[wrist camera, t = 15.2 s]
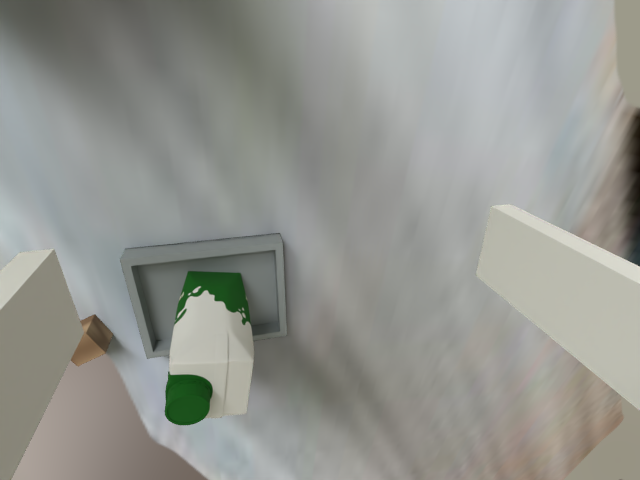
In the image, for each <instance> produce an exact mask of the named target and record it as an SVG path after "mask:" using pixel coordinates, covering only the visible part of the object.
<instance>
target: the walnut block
mask: <svg viewBox="0 0 640 480" xmlns="http://www.w3.org/2000/svg"><path fill="white" fill-rule="evenodd" d="M80 322H81V325H82V328H83V330H84V334H83V336H82V338H81V340H80V342H79V344H78V346H77V348H76V350H75V352H74V354H73V356H72V358H71V361H72V362H73V363H74V364H76V365H77V366H80V365H82V364H84V363H86V362H88V361H90V360H92V359H95V358H97V357H99V356H101V355H103V354H105V353H106V351H107V349H108V346H109V344H110V341H111V338H112V336H113V333H112V332H111V331H110V330H109V329H108V328H107V327H106V326H105V325H104V324H103V323H102V321H101V320H100V319H99V318H98V317H97V316H96V315H92V316H90V317H88V318H86V319H84V320H82V321H80Z"/></svg>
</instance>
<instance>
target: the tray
mask: <svg viewBox="0 0 640 480" xmlns="http://www.w3.org/2000/svg"><path fill="white" fill-rule="evenodd" d="M120 262H121V266H122V270H123V273H124V277H125V281H126V284H127V288H128V292H129V295H130V299H131V302H132V306H133V310H134V313H135V317H136V321H137V324H138V328H139V332H140V335H141V339H142V342H143V346H144V350H145V353H146V357H147V359H149V358H155V357H161V356H167V355H170V347H171V341H172V335H173V329H174V323H175V317H176V311H177V306H178V302H179V298H180V295H181V292H182V289H183V286H184V282H185V279H186V276H187V273H188V271H202V272H232V273H241V277H242V281H243V285H244V289H245V293H246V297H247V301H248V306H249V313H250V321H251V329H252V337H253V341H257V340H263V339H269V338H275V337H282V336H287V324H286V303H285V282H284V260H283V242H282V239H281V236H280V234H279V233H276V234H266V235H256V236H246V237H237V238H227V239H217V240H207V241H197V242H187V243H177V244H168V245H158V246H148V247H138V248H128V249H125V250H124V252H123V254H122V256H121V258H120Z"/></svg>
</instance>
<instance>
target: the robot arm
mask: <svg viewBox="0 0 640 480" xmlns="http://www.w3.org/2000/svg"><path fill="white" fill-rule="evenodd" d="M476 276H477V277H478V278H479V279H481V280H482V281H483V282H484V283H485V284H487V285H488V286H489V287H490V288H491V289H493V290H494V291H495V292H496V293H498V294H499V295H500V296H501V297H502V298H504V299H505V300H506V301H507V302H508V303H510V304H511V305H512V306H513V307H514V308H516V309H517V310H518V311H519V312H521V313H522V314H523V315H524V316H525V317H527V318H528V319H529V320H530V321H531V322H533V323H534V324H535V325H536V326H538V327H539V328H540V329H541V330H542V331H544V332H545V333H546V334H547V335H548V336H550V337H551V338H552V339H553V340H555V341H556V342H557V343H558V344H559V345H561V346H562V347H563V348H564V349H565V350H567V351H568V352H569V353H570V354H571V355H573V356H574V357H575V358H576V359H578V360H579V361H580V362H581V363H582V364H584V365H585V366H586V367H587V368H588V369H590V370H591V371H592V372H593V373H595V374H596V375H597V376H598V377H599V378H601V379H602V380H603V381H604V382H605V383H607V384H608V385H609V386H610V387H611V388H613V389H614V390H615V391H616V392H618V393H619V394H620V395H621V396H622V397H624V398H625V399H626V400H627V401H628V402H630V403H631V404H632V405H633V406H635V407H636V408H637V409H638V410H639V411H640V267H639V266H637V265H635V264H633V263H631V262H629V261H627V260H625V259H623V258H621V257H618V256H616V255H614V254H612V253H610V252H608V251H606V250H604V249H602V248H600V247H598V246H596V245H594V244H592V243H590V242H587V241H585V240H583V239H581V238H579V237H577V236H575V235H573V234H571V233H569V232H567V231H565V230H563V229H561V228H558V227H556V226H554V225H552V224H550V223H548V222H546V221H544V220H542V219H540V218H538V217H536V216H534V215H532V214H530V213H527V212H525V211H523V210H521V209H519V208H517V207H515V206H513V205H511V204H508V205H498V206H491V210H490V214H489V218H488V223H487V227H486V232H485V236H484V241H483V245H482V250H481V254H480V258H479V263H478V267H477V272H476ZM83 334H84V330H83V328H82V325H81V322H80V319H79V317H78V314H77V311H76V308H75V305H74V303H73V300H72V297H71V294H70V292H69V289H68V286H67V283H66V280H65V278H64V275H63V272H62V269H61V267H60V264H59V261H58V258H57V256H56V253H55V250H54V249H48V250H38V251H27V252H20V253H19V254H18V255H17V256H16V257H15V258H13V259H12V260H11V261H10V262H9V263H8V264H7V265H6V266H5V267H4V268H3V269H2V270H1V271H0V480H11V479H12V477H13V475H14V473H15V471H16V469H17V467H18V465H19V463H20V461H21V459H22V457H23V455H24V453H25V451H26V449H27V447H28V445H29V443H30V441H31V439H32V437H33V435H34V433H35V431H36V429H37V427H38V425H39V423H40V421H41V419H42V417H43V415H44V412H45V411H46V409H47V407H48V404H49V402H50V400H51V399H52V396H53V394H54V392H55V390H56V388H57V386H58V384H59V382H60V380H61V378H62V376H63V374H64V372H65V370H66V368H67V366H68V364H69V362H70V360H71V358H72V356H73V354H74V352H75V350H76V348H77V346H78V344H79V342H80V340H81V338H82V336H83Z"/></svg>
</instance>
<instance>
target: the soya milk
mask: <svg viewBox="0 0 640 480" xmlns="http://www.w3.org/2000/svg"><path fill="white" fill-rule="evenodd" d="M253 363H254V345H253V337H252V329H251V321H250V313H249V306H248V301H247V297H246V293H245V289H244V285H243V281H242V277H241V273H232V272H202V271H188V273H187V276H186V279H185V282H184V286H183V289H182V292H181V295H180V298H179V302H178V306H177V311H176V317H175V323H174V329H173V335H172V341H171V347H170V359H169V372H168V382H167V385H166V406H165V415H166V418H167V419H168V420H169V421H170V422H172V423H174V424H177V425H191V424H195V423H197V422H199V421H201V420H203V419H204V418H221V417H222V416H227V415H239V414H246V412H247V405H248V398H249V391H250V384H251V377H252V370H253Z"/></svg>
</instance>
